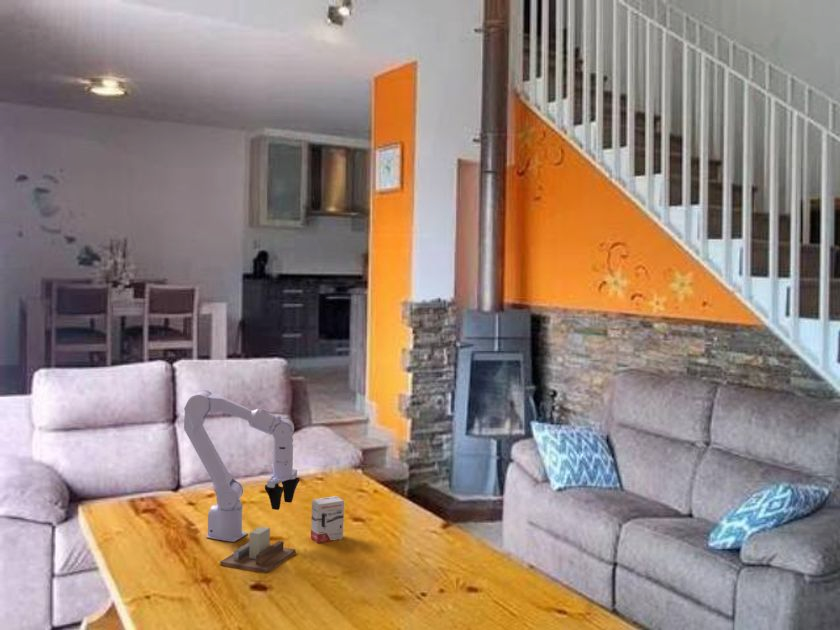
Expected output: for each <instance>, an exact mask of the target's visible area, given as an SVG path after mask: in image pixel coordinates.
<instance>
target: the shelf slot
mask: <svg viewBox="0 0 840 630" xmlns="http://www.w3.org/2000/svg"><path fill="white" fill-rule="evenodd" d="M296 552H297V551H296V549H295V548H289V547H284V541H282V540H277V541H276V542H275V543H273V544H270V547H268V548H267V549H265V550H264V551H262V552H260V553H259V554H257V555H256V559H252V558H249V555H248V556H246V557H245V558H243V559H241V560H240V561H234V553H232V554H230V555H229V556H227V557H225V558H224V559H222V560H220V562H219V563H220V564H219V565H220V566H222V565H223V566H224V567H228V568H234V569H240V570H245V571H251V572H256V573H257V572H258V573H263V574H268V573H269V572H270V571H272V570H273V569H276V567H278V566H280V564H282V563H283V562H285V561H286V560H287V558H288V559H289V558H291V557H292V556H293V555H295V554H296ZM294 553H295V554H294ZM223 566H222V567H223Z"/></svg>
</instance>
